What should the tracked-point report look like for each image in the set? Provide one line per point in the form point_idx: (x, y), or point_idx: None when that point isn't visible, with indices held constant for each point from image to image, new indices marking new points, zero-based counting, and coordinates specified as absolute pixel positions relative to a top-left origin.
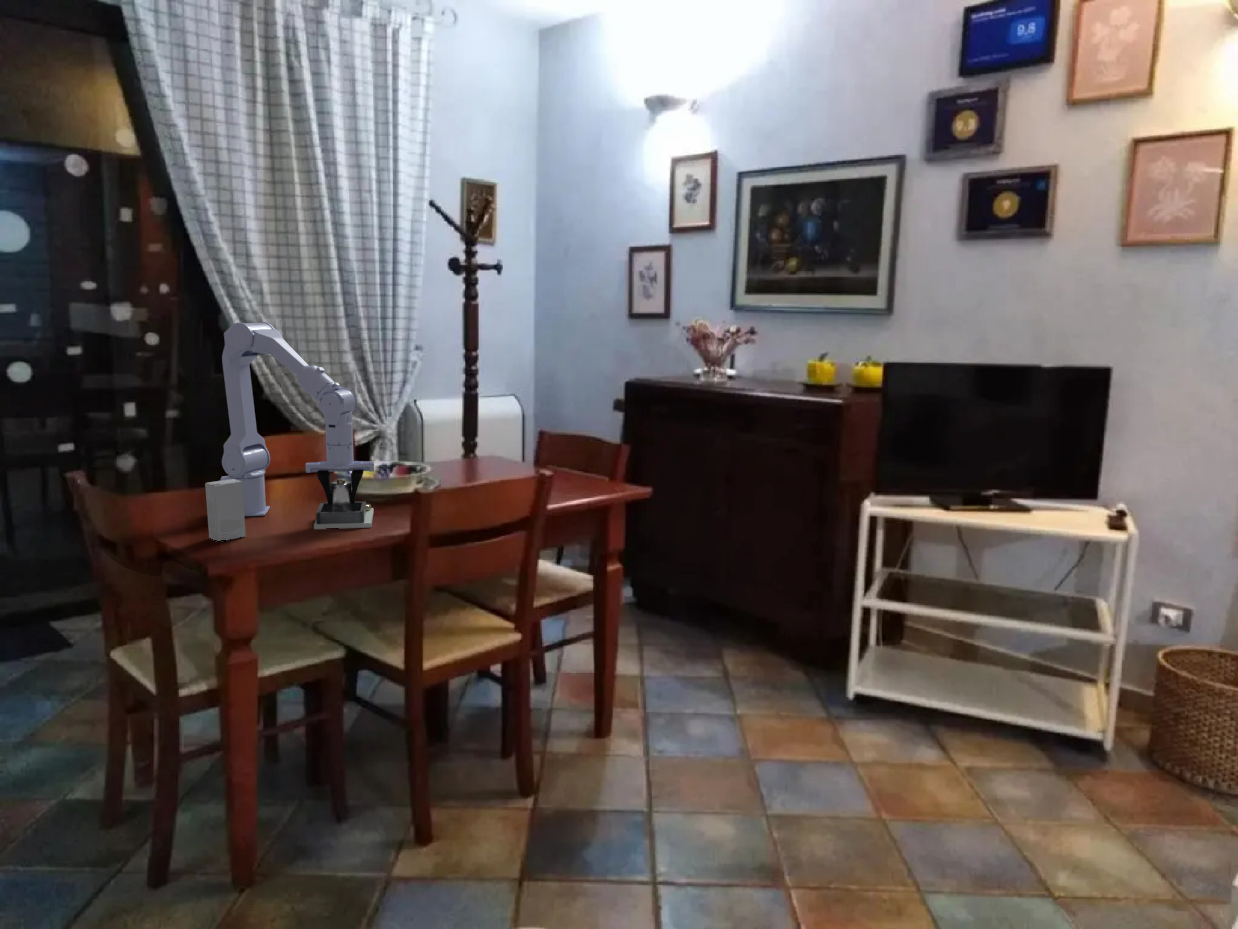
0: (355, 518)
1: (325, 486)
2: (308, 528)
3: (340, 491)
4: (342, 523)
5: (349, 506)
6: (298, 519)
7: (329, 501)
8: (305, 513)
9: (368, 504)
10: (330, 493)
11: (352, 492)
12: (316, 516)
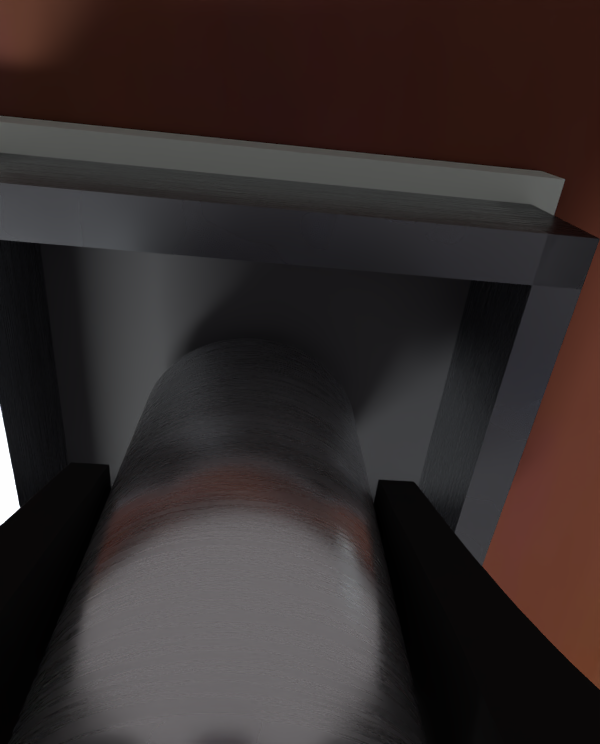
0: (68, 167)
1: (580, 721)
2: (583, 229)
3: (236, 576)
4: (244, 171)
5: (142, 427)
6: (584, 526)
7: (408, 502)
8: None
9: None
10: (408, 632)
11: (6, 576)
12: (572, 226)
